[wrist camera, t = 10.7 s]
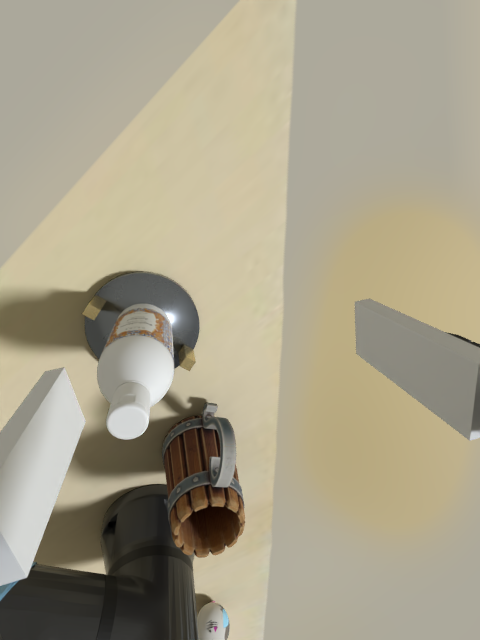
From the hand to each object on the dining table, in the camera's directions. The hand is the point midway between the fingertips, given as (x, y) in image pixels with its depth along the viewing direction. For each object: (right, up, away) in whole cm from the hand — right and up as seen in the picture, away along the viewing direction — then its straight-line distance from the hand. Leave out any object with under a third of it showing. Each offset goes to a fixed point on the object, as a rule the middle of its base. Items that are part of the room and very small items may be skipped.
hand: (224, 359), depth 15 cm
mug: (-5, -15, +35) cm, 38 cm away
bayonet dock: (-12, +1, +28) cm, 30 cm away
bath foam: (-12, +1, +27) cm, 30 cm away
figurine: (-5, -52, +48) cm, 71 cm away
